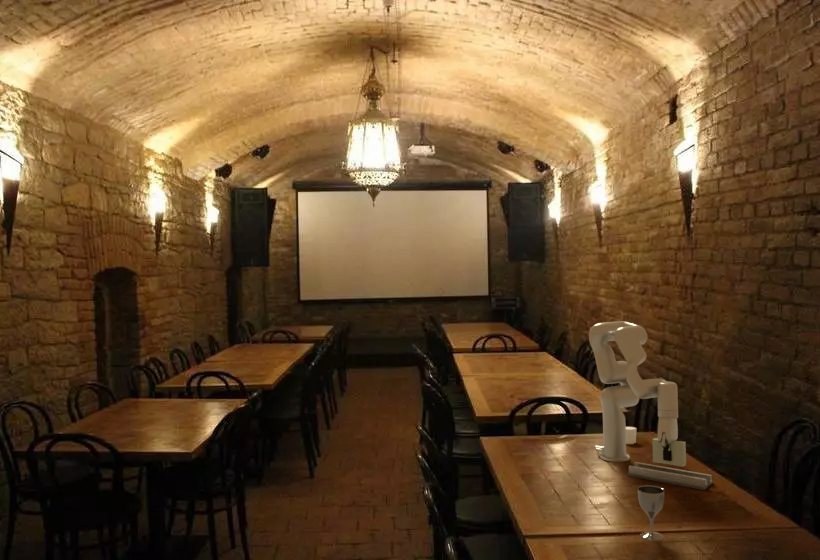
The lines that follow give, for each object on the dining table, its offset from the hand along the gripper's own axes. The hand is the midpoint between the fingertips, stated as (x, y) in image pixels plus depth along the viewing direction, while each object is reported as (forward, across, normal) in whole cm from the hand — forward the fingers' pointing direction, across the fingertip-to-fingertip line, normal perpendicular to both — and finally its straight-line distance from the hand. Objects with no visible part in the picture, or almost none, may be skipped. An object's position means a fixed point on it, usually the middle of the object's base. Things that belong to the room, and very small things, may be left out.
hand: (669, 458), depth 270 cm
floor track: (+8, 0, 0) cm, 8 cm away
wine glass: (+9, +58, +15) cm, 60 cm away
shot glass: (+8, -43, -34) cm, 56 cm away
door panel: (+2, 0, 0) cm, 2 cm away
